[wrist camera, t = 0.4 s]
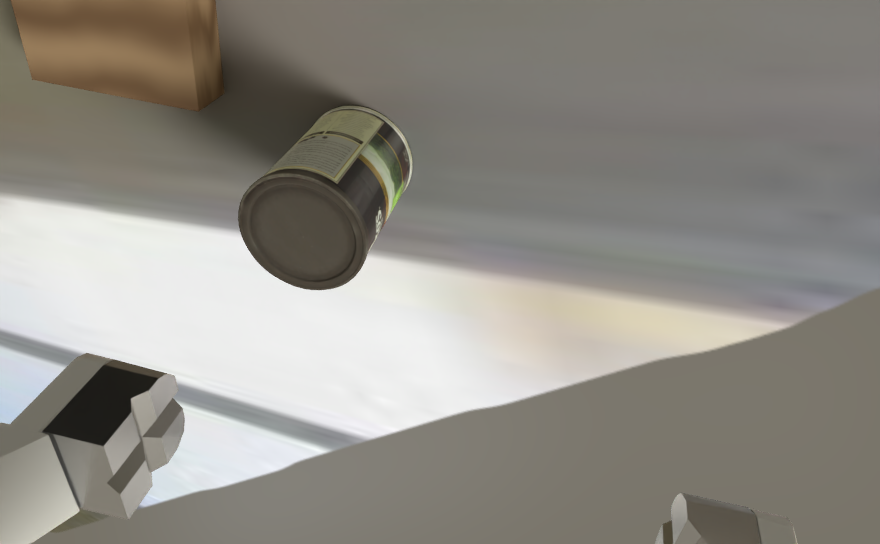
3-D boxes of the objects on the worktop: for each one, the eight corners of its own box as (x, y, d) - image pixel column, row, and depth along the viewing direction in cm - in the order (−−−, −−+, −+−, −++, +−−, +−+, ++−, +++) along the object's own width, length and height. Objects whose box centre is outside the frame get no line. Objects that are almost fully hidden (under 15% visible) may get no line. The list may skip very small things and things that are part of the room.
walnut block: (30, -106, 55) (-17, -99, 51) (210, -78, 53) (176, -68, 49) (69, 62, 63) (32, 79, 59) (226, 91, 61) (198, 111, 57)
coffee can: (434, 151, 59) (391, 232, 48) (377, 225, 65) (326, 312, 54) (339, 80, 58) (270, 146, 46) (289, 162, 63) (217, 239, 52)
